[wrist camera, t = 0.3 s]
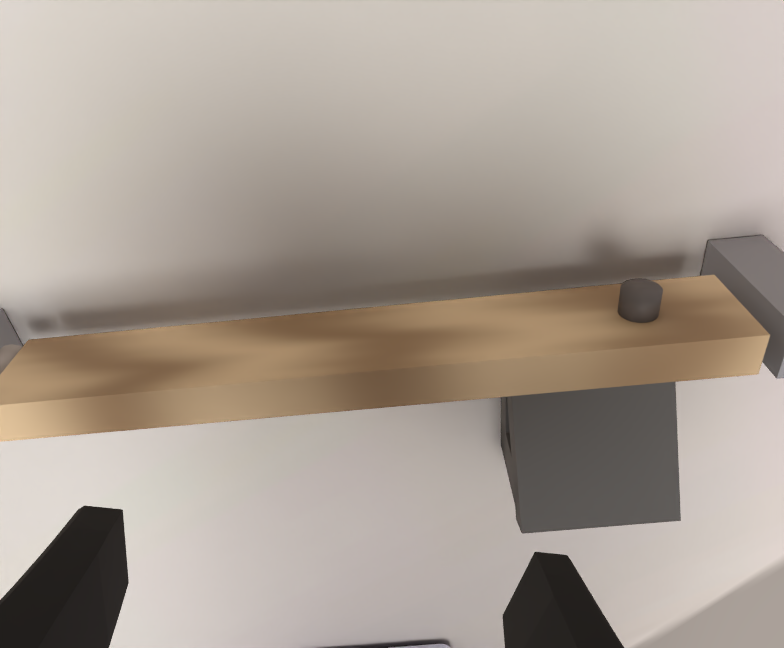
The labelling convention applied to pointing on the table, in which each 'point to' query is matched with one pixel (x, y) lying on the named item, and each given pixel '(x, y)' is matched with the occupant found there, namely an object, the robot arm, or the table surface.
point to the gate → (379, 357)
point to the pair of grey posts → (722, 258)
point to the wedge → (592, 457)
